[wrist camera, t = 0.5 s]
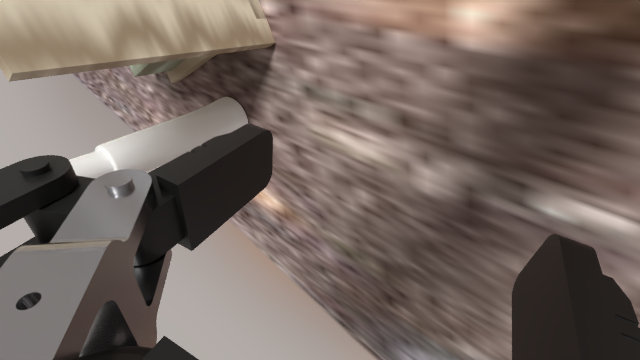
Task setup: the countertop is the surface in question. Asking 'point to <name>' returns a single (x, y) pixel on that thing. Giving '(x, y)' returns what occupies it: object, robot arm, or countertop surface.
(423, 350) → the countertop surface
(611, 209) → the countertop surface
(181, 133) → the cosmetic bottle
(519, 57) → the countertop surface
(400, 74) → the countertop surface
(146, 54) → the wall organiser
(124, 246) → the robot arm
